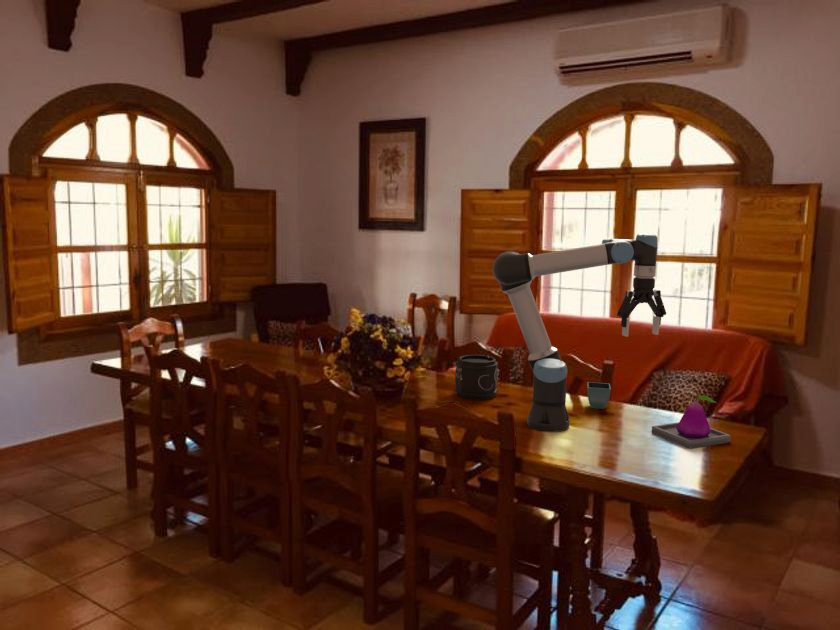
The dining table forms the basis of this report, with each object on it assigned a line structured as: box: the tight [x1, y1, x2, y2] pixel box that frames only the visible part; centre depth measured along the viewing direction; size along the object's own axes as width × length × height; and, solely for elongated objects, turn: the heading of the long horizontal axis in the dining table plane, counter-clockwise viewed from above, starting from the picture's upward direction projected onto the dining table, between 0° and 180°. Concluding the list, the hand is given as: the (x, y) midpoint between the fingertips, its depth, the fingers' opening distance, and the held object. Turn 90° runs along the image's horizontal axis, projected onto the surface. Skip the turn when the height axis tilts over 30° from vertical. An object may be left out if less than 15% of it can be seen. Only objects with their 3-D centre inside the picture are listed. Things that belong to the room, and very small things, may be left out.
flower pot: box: [586, 381, 612, 410], centre depth 285 cm, size 9×9×9 cm
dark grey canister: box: [454, 354, 499, 401], centre depth 301 cm, size 18×18×16 cm
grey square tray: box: [651, 421, 731, 450], centre depth 249 cm, size 18×18×2 cm
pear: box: [676, 392, 717, 439], centre depth 247 cm, size 11×11×15 cm
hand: (640, 335), depth 264 cm, fingers open, 13 cm apart
